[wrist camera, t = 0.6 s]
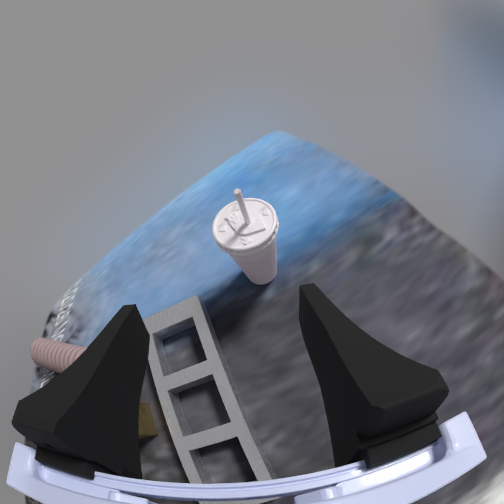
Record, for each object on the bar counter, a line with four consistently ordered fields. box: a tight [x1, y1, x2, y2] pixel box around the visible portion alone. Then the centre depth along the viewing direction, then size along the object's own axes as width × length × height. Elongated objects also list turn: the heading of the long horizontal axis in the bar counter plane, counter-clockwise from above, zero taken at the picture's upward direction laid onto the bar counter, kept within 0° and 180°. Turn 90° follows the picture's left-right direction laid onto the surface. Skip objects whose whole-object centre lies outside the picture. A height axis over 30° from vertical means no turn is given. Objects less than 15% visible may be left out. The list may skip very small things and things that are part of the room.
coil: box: [31, 338, 87, 373], centre depth 30 cm, size 5×5×18 cm
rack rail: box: [142, 295, 280, 504], centre depth 26 cm, size 24×8×2 cm, turn 22°
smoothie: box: [212, 189, 279, 285], centre depth 29 cm, size 6×6×14 cm
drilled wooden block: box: [139, 402, 158, 439], centre depth 24 cm, size 6×4×6 cm
